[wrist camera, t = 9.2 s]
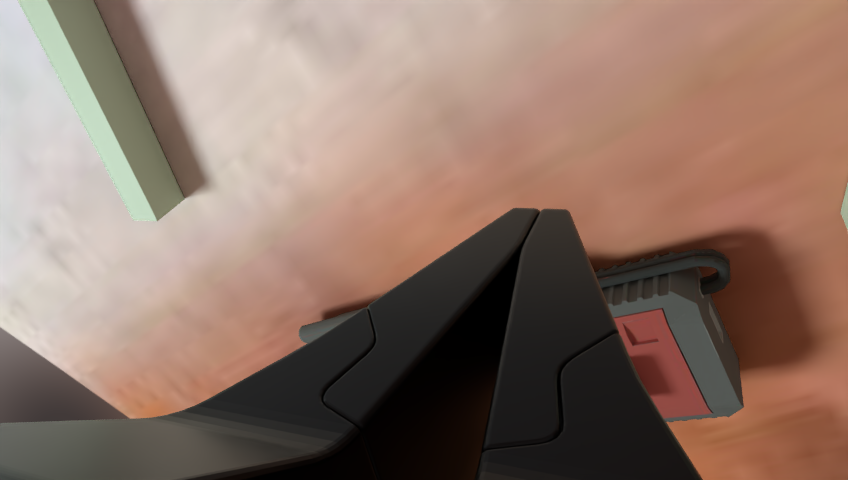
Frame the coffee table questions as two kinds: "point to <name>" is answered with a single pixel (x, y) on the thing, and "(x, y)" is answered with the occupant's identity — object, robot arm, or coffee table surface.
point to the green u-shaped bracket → (114, 104)
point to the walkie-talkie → (663, 332)
